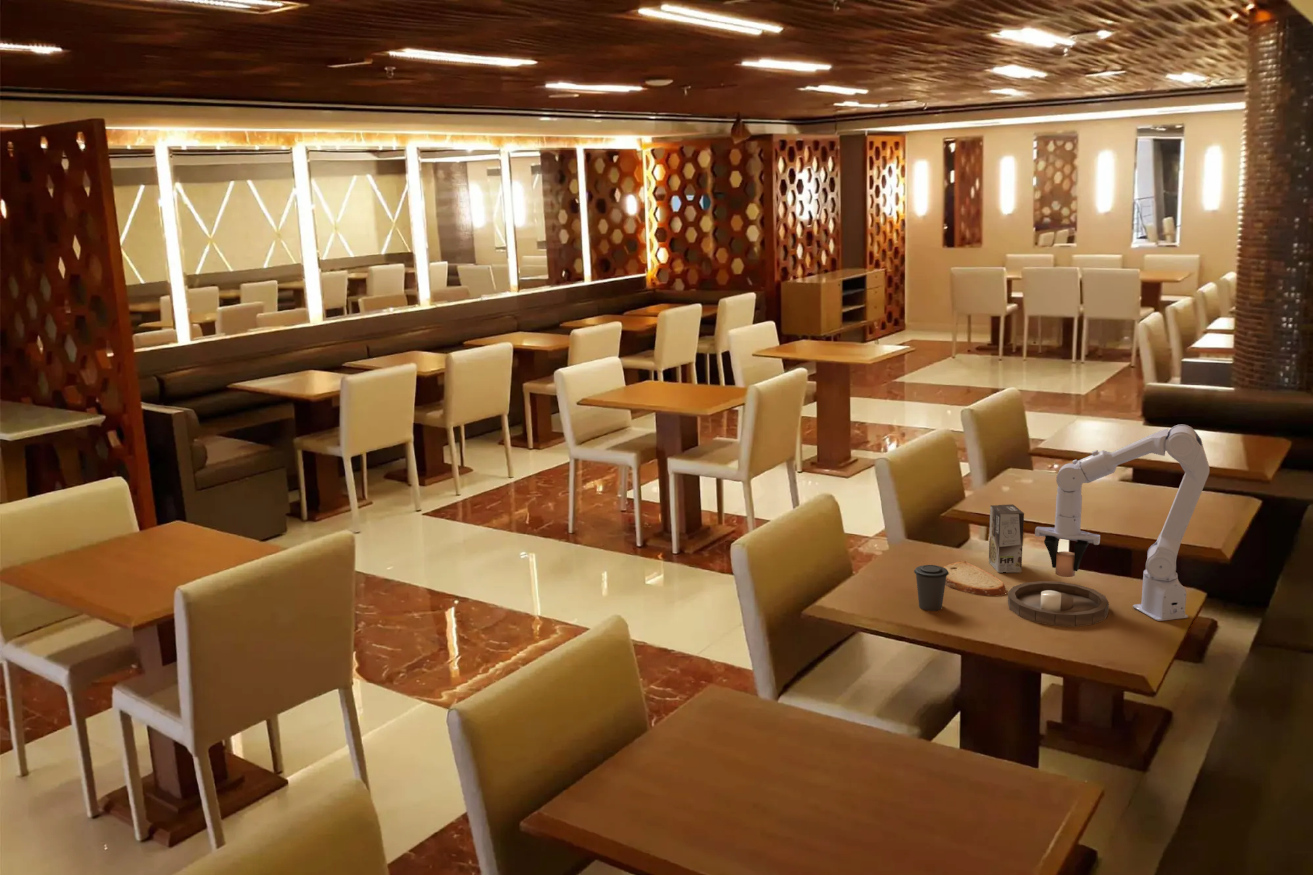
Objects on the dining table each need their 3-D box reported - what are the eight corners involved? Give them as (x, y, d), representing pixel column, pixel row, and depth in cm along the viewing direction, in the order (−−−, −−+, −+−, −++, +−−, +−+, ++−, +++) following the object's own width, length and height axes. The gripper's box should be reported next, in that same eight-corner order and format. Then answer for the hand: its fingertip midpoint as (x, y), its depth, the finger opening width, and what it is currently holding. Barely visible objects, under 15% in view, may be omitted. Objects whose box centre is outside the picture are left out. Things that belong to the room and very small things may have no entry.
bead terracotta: (1078, 576, 255) (1079, 556, 254) (1061, 577, 254) (1062, 557, 253) (1068, 570, 259) (1069, 550, 258) (1051, 571, 258) (1052, 552, 257)
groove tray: (1127, 620, 244) (1127, 609, 244) (1039, 630, 240) (1040, 618, 240) (1072, 588, 265) (1073, 577, 265) (991, 596, 261) (991, 586, 261)
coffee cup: (948, 613, 252) (950, 573, 250) (913, 612, 253) (914, 572, 251) (946, 601, 259) (947, 562, 257) (912, 600, 261) (913, 561, 259)
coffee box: (1022, 572, 278) (1025, 513, 274) (997, 573, 278) (999, 513, 274) (1011, 561, 287) (1014, 503, 283) (987, 561, 287) (989, 504, 283)
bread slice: (1007, 598, 261) (1008, 584, 260) (931, 593, 266) (932, 578, 266) (1006, 574, 278) (1006, 560, 277) (934, 569, 283) (935, 556, 282)
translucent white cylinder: (1048, 618, 245) (1049, 598, 244) (1036, 612, 249) (1037, 591, 248) (1064, 615, 246) (1065, 595, 245) (1051, 609, 250) (1052, 589, 249)
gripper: (1104, 513, 253) (1100, 568, 256) (1041, 506, 261) (1039, 558, 264) (1097, 521, 247) (1094, 576, 250) (1033, 513, 255) (1031, 567, 258)
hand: (1065, 568), depth 256 cm, fingers closed on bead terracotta, 4 cm apart
